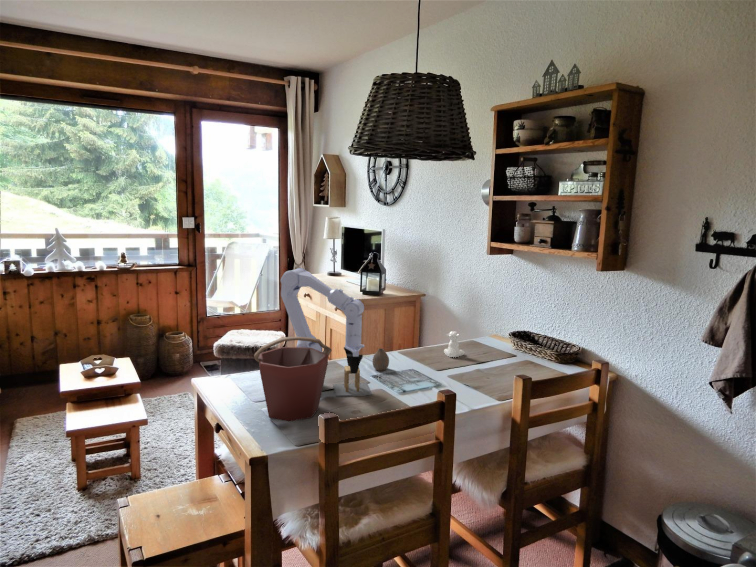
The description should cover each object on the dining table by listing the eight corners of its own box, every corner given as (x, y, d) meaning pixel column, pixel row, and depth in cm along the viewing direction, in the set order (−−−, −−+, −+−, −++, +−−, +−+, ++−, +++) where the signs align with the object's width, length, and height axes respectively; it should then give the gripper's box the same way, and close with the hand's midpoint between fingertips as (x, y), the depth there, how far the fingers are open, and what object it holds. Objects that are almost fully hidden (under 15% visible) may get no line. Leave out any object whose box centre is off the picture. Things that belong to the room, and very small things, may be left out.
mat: (336, 396, 181) (336, 395, 181) (333, 385, 192) (333, 384, 192) (372, 395, 184) (372, 393, 184) (367, 384, 194) (367, 382, 194)
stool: (345, 391, 185) (346, 370, 184) (344, 386, 190) (344, 366, 188) (359, 391, 186) (359, 370, 184) (357, 386, 191) (357, 365, 189)
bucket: (331, 398, 180) (333, 329, 176) (327, 426, 158) (329, 348, 154) (261, 397, 179) (261, 328, 175) (248, 425, 157) (247, 346, 153)
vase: (387, 373, 208) (387, 352, 207) (370, 371, 209) (371, 350, 208) (390, 367, 215) (390, 347, 213) (374, 366, 216) (374, 346, 215)
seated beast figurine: (464, 354, 237) (466, 329, 235) (463, 359, 228) (464, 333, 227) (444, 352, 239) (445, 327, 237) (442, 357, 231) (443, 332, 229)
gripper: (367, 338, 178) (366, 376, 180) (361, 328, 192) (360, 363, 194) (347, 339, 177) (346, 376, 179) (342, 328, 191) (341, 363, 193)
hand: (352, 369), depth 187 cm, fingers open, 7 cm apart
